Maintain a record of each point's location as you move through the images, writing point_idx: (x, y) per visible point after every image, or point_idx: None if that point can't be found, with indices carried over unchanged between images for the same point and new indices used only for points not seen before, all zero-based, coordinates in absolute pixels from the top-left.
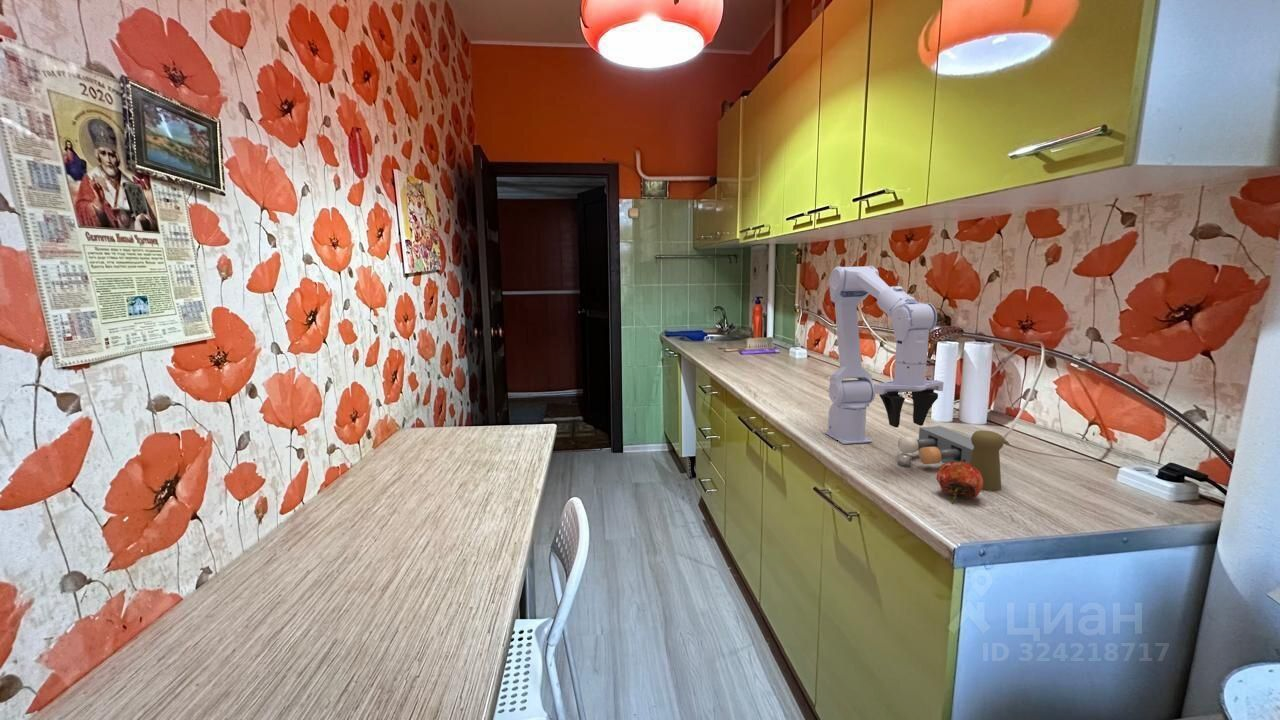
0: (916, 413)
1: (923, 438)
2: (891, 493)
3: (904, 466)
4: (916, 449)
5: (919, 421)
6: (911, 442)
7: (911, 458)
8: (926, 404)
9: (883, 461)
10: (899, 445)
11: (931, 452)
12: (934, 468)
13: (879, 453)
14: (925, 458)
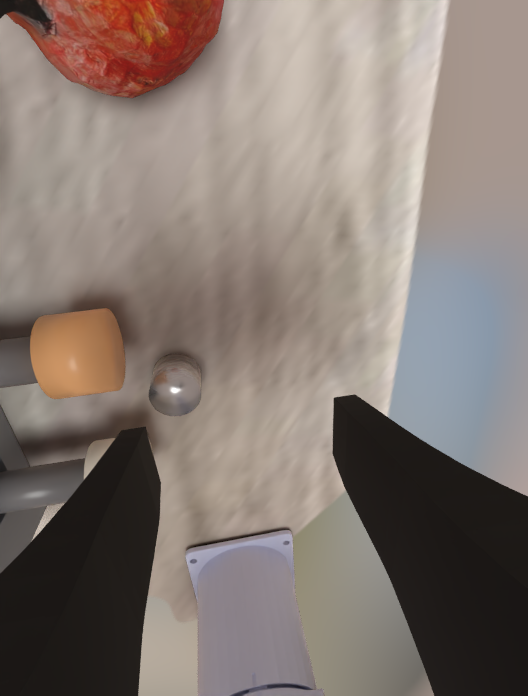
0: (142, 544)
1: (15, 533)
2: (401, 93)
3: (188, 356)
4: (98, 441)
5: (143, 458)
6: None
7: (154, 378)
8: (57, 610)
9: (238, 404)
10: None
11: (86, 334)
12: None
13: (212, 468)
14: (114, 338)
